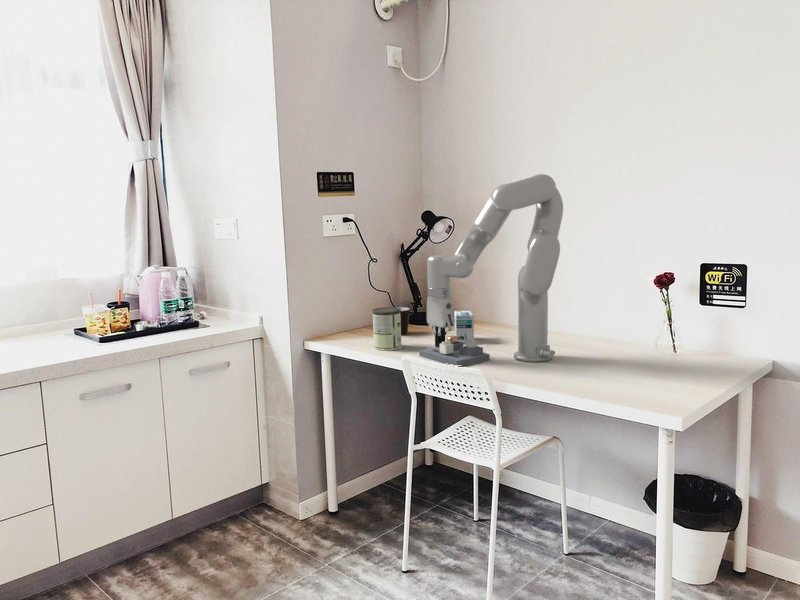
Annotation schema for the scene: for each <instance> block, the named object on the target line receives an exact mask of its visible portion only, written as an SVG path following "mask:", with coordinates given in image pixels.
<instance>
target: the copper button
mask: <svg viewBox="0 0 800 600" xmlns="http://www.w3.org/2000/svg"><path fill="white" fill-rule="evenodd" d="M446 341H451V344H456V343H457V336H455V335H446Z"/></svg>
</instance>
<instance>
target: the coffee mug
mask: <svg viewBox="0 0 800 600" xmlns="http://www.w3.org/2000/svg"><path fill="white" fill-rule="evenodd" d="M395 308H400V309H401V311H400V317H401V336H405V335H408V332H409V330H408V329H409V323H410V322H409V320H410V310H411V309H410V308H409V307H404V306H400V307H396V306H395Z"/></svg>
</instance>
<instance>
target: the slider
mask: <svg viewBox="0 0 800 600" xmlns="http://www.w3.org/2000/svg"><path fill="white" fill-rule="evenodd" d="M440 353H443V354H449V353H453V344H451V341H447V340H445V341H444V342H442V343H441V344H440Z"/></svg>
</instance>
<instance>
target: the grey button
mask: <svg viewBox="0 0 800 600" xmlns="http://www.w3.org/2000/svg"><path fill="white" fill-rule="evenodd" d="M477 343H478V342H477V340H475V339H474V340H469V341H466V344H465V346H466V348H467V349H476V348H477V346H478V344H477Z"/></svg>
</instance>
